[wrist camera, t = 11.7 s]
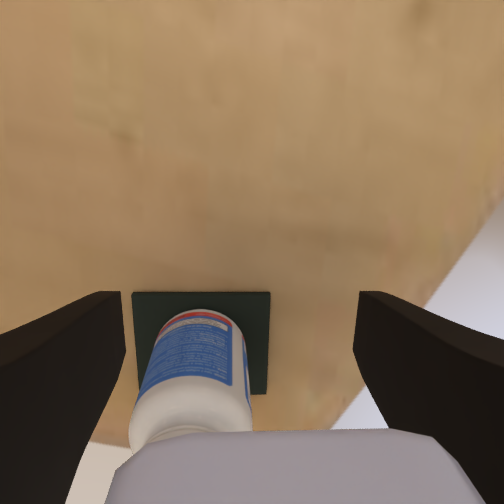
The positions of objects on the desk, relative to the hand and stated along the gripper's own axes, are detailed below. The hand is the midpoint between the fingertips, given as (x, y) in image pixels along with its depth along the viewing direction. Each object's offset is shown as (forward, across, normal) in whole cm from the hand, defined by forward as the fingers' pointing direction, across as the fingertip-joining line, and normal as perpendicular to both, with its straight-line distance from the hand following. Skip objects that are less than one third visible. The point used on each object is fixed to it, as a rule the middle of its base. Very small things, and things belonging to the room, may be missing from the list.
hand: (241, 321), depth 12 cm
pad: (+10, +2, +7) cm, 13 cm away
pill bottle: (+10, +2, +7) cm, 13 cm away
